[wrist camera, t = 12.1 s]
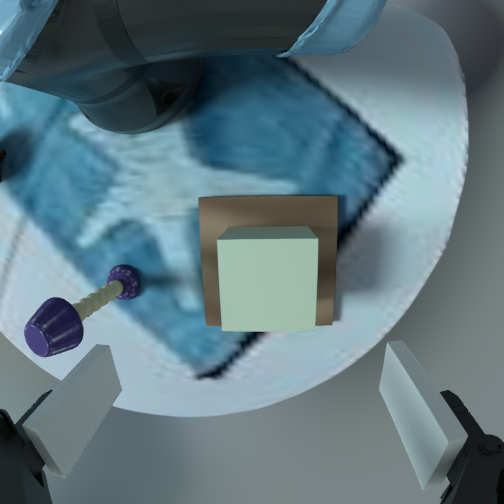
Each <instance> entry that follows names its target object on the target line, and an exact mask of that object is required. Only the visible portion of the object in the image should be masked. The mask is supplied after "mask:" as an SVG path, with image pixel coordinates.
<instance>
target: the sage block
mask: <svg viewBox="0 0 504 504" xmlns="http://www.w3.org/2000/svg"><path fill="white" fill-rule="evenodd" d="M217 251H218V271H219V289H220V306H221V321H222V331H314V330H315V318H316V298H317V273H318V238H317V236H316V235H315V234H314V233H313V232H312V230H311V229H310V228H309V227H308V226H271V227H228V228H227V229H226V230H225V231H224V232H223V234H222V235H221V236H220V237H219V238H218V239H217Z"/></svg>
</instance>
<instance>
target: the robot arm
mask: <svg viewBox="0 0 504 504" xmlns="http://www.w3.org/2000/svg"><path fill="white" fill-rule="evenodd" d="M386 1H387V0H0V82H1V81H5V82H9V83H12V84H16V85H20V86H23V87H27V88H31V89H34V90H38V91H41V92H44V93H48V94H51V95H54V96H58V97H61V98H64V99H67V100H71V101H73V102H74V103H76V104H77V105H78V107H79V108H80V110H81V112H82V113H83V114H84V116H85V117H86V118H87V119H88V120H89V121H90V122H92V123H93V124H94V125H96V126H98V127H100V128H102V129H104V130H107V131H111V132H115V133H119V134H138V133H143V132H147V131H150V130H153V129H155V128H157V127H159V126H161V125H163V124H165V123H166V122H168V121H169V120H171V119H172V118H173V117H175V116H176V115H177V114H178V113H179V112H180V111H181V110H182V109H183V108H184V107H185V106H186V105H187V104H188V102H189V101H190V100H191V98H192V97H193V95H194V93H195V92H196V90H197V88H198V86H199V83H200V80H201V77H202V73H203V67H204V57H214V56H231V55H275V56H276V57H289V56H291V55H293V54H324V55H334V54H340V53H343V52H346V51H348V50H349V49H351V48H353V47H354V46H355V45H356V44H358V43H360V42H361V41H362V40H363V39H364V38H365V37H366V36H367V35H368V34H369V32H370V31H371V30H372V28H373V27H374V25H375V24H376V22H377V20H378V18H379V16H380V14H381V12H382V10H383V8H384V6H385V3H386ZM379 390H380V392H381V394H382V396H383V399H384V401H385V403H386V405H387V408H388V410H389V412H390V414H391V416H392V419H393V421H394V423H395V426H396V428H397V430H398V432H399V434H400V437H401V439H402V442H403V444H404V446H405V449H406V451H407V453H408V456H409V458H410V460H411V463H412V465H413V468H414V470H415V473H416V475H417V477H418V480H419V483H420V485H421V488H422V490H423V491H424V490H427V489H430V488H433V487H437V486H440V485H441V484H442V483H443V481H444V479H445V477H446V476H447V477H448V480H449V482H450V484H449V486H448V487H447V488H446V490H445V492H444V493H443V494H442V496H441V497H440V498H441V499H442V500H441V503H440V504H504V442H502V440H501V439H500V438H498V437H497V436H493V435H487V434H484V432H483V431H482V429H481V428H480V426H479V425H478V423H477V422H476V421H475V419H474V418H473V416H472V415H471V414H470V412H468V409H467V408H466V407H465V406H464V404H463V403H462V401H461V400H460V398H459V397H458V396H457V395H455V394H454V393H452V392H451V391H449V390H446V391H442V392H439V391H438V390H437V388H436V387H435V385H434V384H433V382H432V381H431V379H430V378H429V377H428V375H427V374H426V372H425V371H424V370H423V368H422V367H421V365H420V364H419V363H418V361H417V360H416V359H415V357H414V356H413V355H412V353H411V352H410V350H409V349H408V348H407V346H406V345H405V343H404V342H403V341H402V340H400V341H391V342H387V346H386V353H385V360H384V365H383V371H382V376H381V382H380V387H379ZM121 391H122V388H121V385H120V381H119V378H118V375H117V371H116V368H115V365H114V361H113V357H112V354H111V350H110V346H109V345H99V344H96V345H95V347H94V348H93V349H92V350H91V351H90V352H89V353H88V354H87V355H86V356H85V357H84V358H83V359H82V360H81V361H80V362H79V363H78V364H77V365H76V366H75V367H74V368H73V370H72V371H71V372H70V373H69V374H68V375H67V376H66V377H65V378H64V379H63V380H62V381H61V382H60V383H59V384H58V386H57V387H56V388H55V389H54V390H50V391H48V392H46V393H45V394H43V395H42V396H41V397H40V398H39V399H38V400H37V401H36V403H34V404H33V406H31V409H29V410H28V411H27V412H26V413H25V414H24V415H23V416H22V417H21V419H20V420H19V421H18V422H17V423H16V424H15V425H14V423H13V421H12V419H11V418H10V416H9V414H8V413H7V412H6V410H3V409H0V504H52V501H51V497H50V493H49V489H48V484H47V480H46V475H45V473H44V471H43V469H42V468H43V466H44V465H45V464H46V465H47V467H48V468H49V470H50V471H51V473H53V474H55V475H58V476H61V477H63V478H66V477H67V476H68V474H69V472H70V471H71V469H72V468H73V466H74V464H75V463H76V461H77V459H78V458H79V456H80V455H81V453H82V451H83V450H84V448H85V447H86V445H87V444H88V442H89V440H90V439H91V437H92V436H93V434H94V433H95V431H96V429H97V428H98V426H99V425H100V423H101V421H102V420H103V418H104V417H105V415H106V414H107V412H108V411H109V409H110V408H111V406H112V405H113V403H114V402H115V400H116V398H117V397H118V395H119V394H120V392H121Z"/></svg>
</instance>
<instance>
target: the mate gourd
mask: <svg viewBox="0 0 504 504" xmlns="http://www.w3.org/2000/svg"><path fill="white" fill-rule="evenodd" d="M5 155H6V151H4V150H3V151H2V152H0V161H1V160H2V159H3V158H4V157H5ZM0 182H1V176H0Z"/></svg>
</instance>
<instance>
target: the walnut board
mask: <svg viewBox="0 0 504 504" xmlns="http://www.w3.org/2000/svg"><path fill="white" fill-rule="evenodd" d="M198 200H199V224H200V244H201V261H202V277H203V292H204V305H205V318H206V326H222V321H221V306H220V289H219V271H218V251H217V239H218V238H219V237H220V236H221V235H222V234H223V232H224V231H225V230H226V229H227V228H228V227H271V226H308V227H309V228H310V229H311V230H312V232H313V233H314V234H315V235H316V236H317V238H318V273H317V298H316V318H315V326H321V325H332V322H333V309H334V294H335V277H336V255H337V220H338V196H307V195H287V196H227V197H200V198H198Z"/></svg>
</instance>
